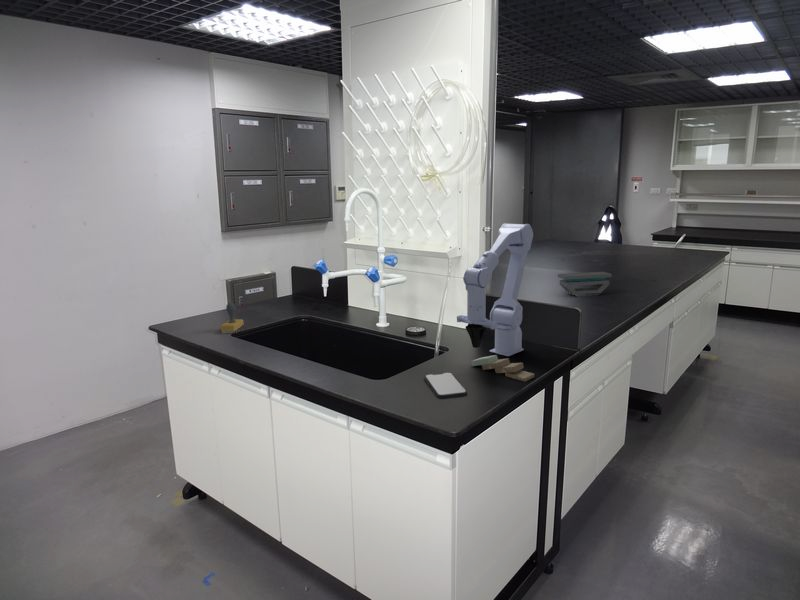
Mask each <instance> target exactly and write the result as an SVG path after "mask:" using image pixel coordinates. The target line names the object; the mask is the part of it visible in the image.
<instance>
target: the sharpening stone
mask: <svg viewBox="0 0 800 600" xmlns="http://www.w3.org/2000/svg"><path fill="white" fill-rule="evenodd" d="M612 276H613V275H612V273H610V272H606V271H591V272H572V273H571V272H570V273H569V272H568V273H557V278H560V279H561V280H559V286H561V287H562V289H564V290H565V292H567V291H568V292H570V293H573V294H585V293H600V294H602V292H603V291H605V289H606V288H608V287H609V286H610V280H608V279H606V278H612ZM576 286H590V287H580V288H578V287H577V288H575V287H576ZM568 292H567V293H568Z"/></svg>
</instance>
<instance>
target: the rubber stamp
mask: <svg viewBox="0 0 800 600" xmlns="http://www.w3.org/2000/svg"><path fill="white" fill-rule="evenodd" d="M225 309H226V311H227V314H228V315H229V320H227V321H226V322H224V323H222V324H221V325H220V330H221V331H235V330H237V329H238V328H240V327H241V326H242V325H244V320H243V318H242V319H238V318H237V319H235V318H234V316H235V312H236V305H235V304H234V303H233V302H228V303H227V304H226V307H225ZM244 326H245V325H244ZM221 331H220V332H221Z"/></svg>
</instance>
